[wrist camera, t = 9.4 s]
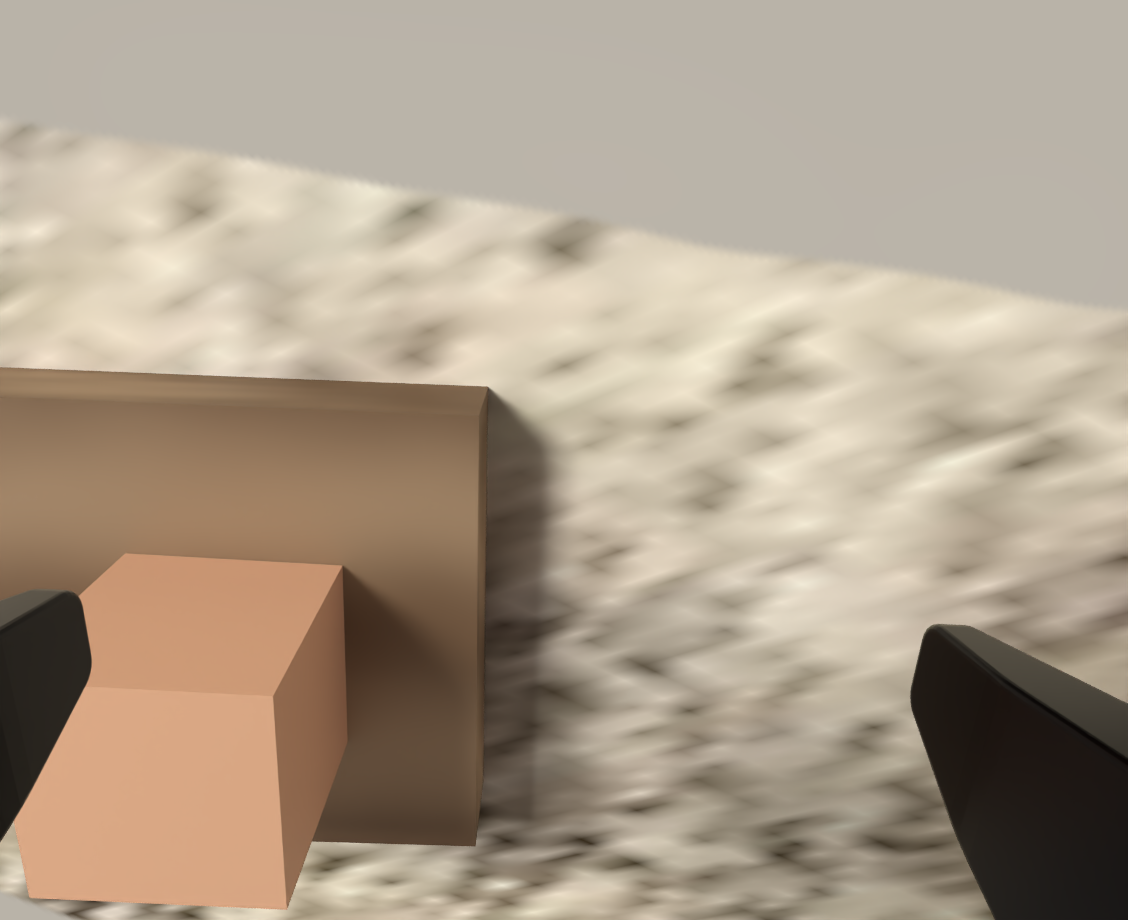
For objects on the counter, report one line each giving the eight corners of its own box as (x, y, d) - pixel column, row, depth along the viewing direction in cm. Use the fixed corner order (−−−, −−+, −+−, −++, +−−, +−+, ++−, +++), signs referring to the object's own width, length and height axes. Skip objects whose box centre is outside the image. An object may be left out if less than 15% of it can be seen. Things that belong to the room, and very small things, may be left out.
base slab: (484, 768, 25) (475, 846, 22) (81, 756, 25) (20, 832, 22) (489, 380, 21) (478, 415, 18) (7, 362, 21) (-79, 393, 18)
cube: (347, 742, 21) (286, 909, 16) (148, 732, 21) (29, 898, 16) (342, 565, 19) (273, 696, 15) (125, 553, 19) (-15, 681, 15)
